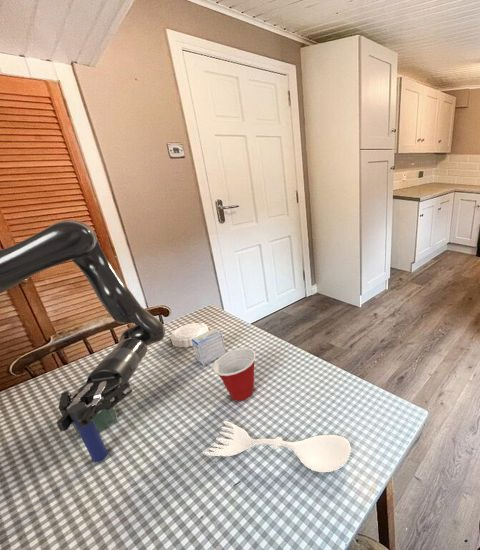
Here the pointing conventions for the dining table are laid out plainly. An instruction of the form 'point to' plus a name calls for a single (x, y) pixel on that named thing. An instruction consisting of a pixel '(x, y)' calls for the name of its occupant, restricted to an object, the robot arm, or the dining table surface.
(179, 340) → the mooncake
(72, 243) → the robot arm
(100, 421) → the tumbler
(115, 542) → the dining table surface
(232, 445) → the white spork
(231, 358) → the plastic cup
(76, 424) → the marker
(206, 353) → the medicine box
